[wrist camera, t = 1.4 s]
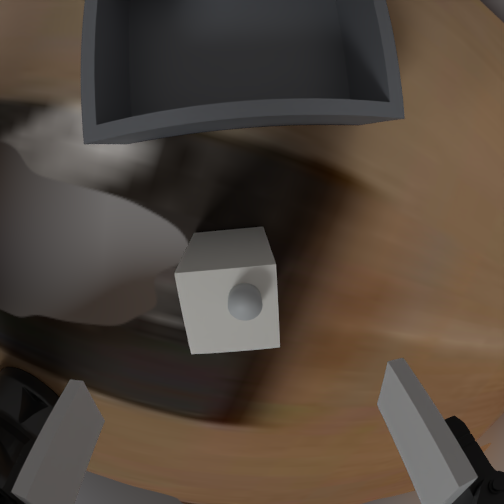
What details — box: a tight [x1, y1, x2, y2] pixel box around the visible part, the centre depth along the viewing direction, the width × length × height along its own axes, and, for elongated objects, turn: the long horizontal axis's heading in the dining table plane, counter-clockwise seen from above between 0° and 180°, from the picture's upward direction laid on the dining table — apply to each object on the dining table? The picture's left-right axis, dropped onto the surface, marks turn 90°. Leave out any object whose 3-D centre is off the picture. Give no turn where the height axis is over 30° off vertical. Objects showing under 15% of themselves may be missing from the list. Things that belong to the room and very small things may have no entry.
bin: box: [81, 0, 404, 144], centre depth 17 cm, size 20×15×8 cm
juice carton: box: [174, 227, 280, 354], centre depth 22 cm, size 6×6×10 cm
